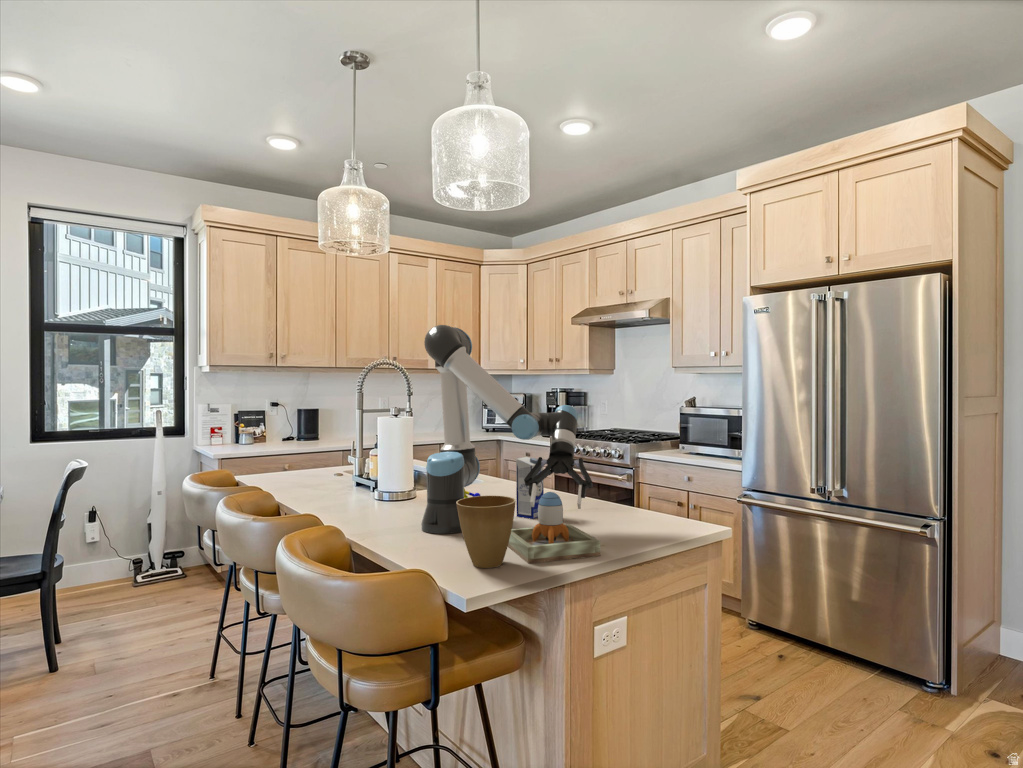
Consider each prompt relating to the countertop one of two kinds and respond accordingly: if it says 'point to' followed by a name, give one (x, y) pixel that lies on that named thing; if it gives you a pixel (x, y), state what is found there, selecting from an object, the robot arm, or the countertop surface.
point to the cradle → (553, 545)
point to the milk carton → (526, 488)
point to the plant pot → (486, 527)
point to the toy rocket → (550, 518)
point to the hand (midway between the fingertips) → (555, 505)
